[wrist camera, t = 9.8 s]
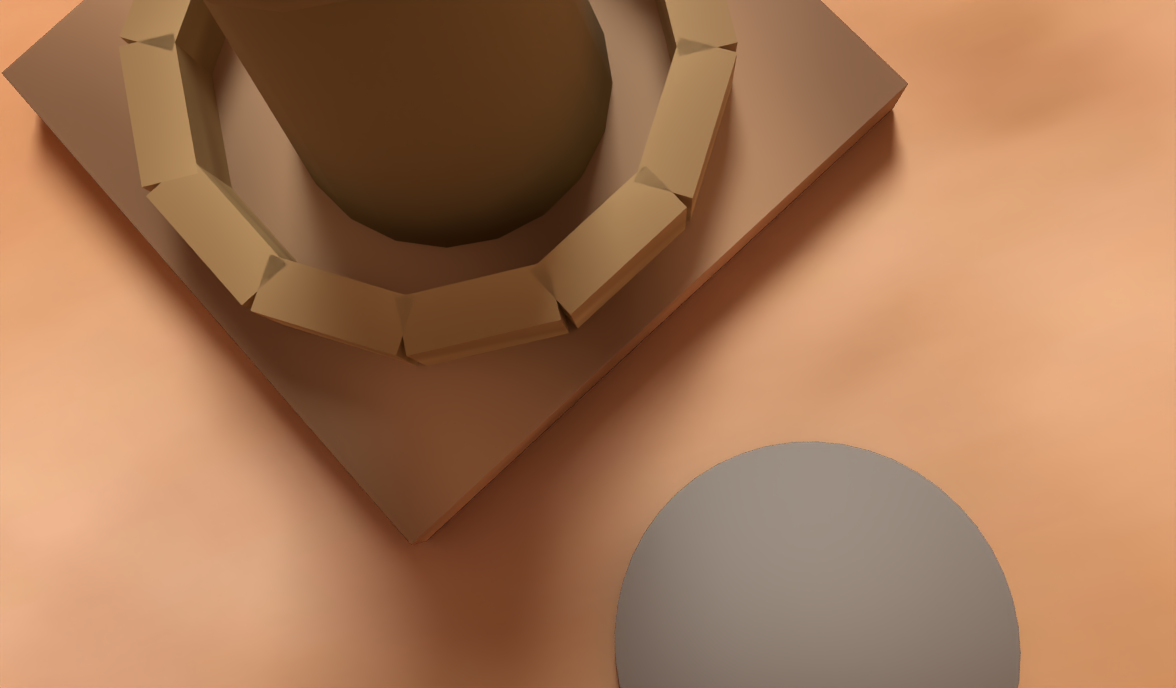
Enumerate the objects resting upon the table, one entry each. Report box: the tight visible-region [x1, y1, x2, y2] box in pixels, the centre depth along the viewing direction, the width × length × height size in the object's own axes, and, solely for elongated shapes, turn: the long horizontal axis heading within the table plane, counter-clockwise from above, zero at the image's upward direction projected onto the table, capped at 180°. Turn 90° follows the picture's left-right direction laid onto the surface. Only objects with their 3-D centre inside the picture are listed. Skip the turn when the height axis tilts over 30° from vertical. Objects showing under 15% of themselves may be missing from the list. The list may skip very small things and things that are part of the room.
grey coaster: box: [615, 442, 1021, 688], centre depth 19 cm, size 7×7×1 cm
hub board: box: [2, 0, 908, 544], centre depth 19 cm, size 12×12×3 cm
